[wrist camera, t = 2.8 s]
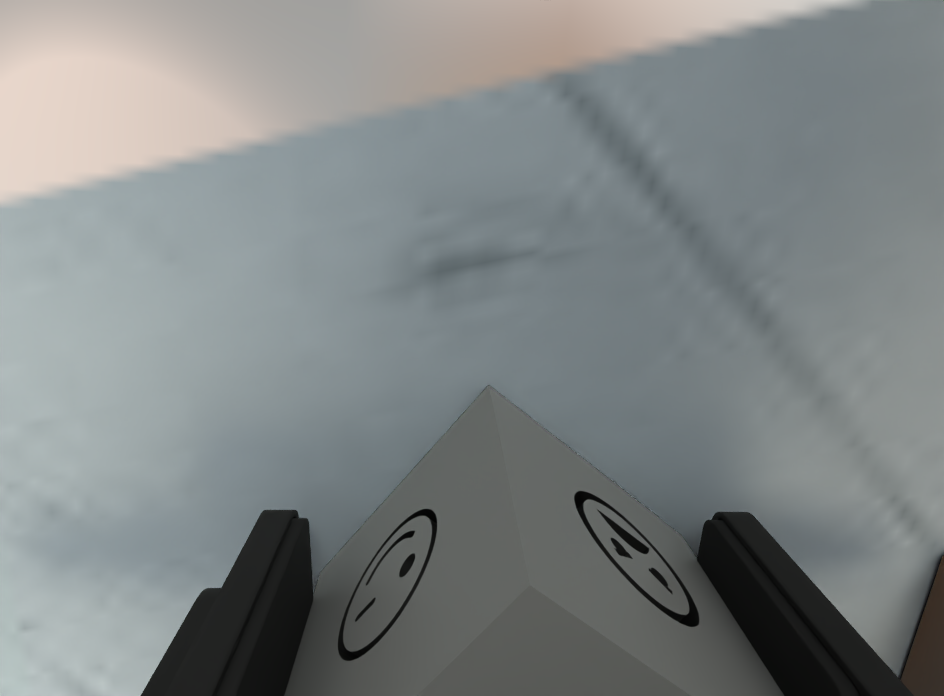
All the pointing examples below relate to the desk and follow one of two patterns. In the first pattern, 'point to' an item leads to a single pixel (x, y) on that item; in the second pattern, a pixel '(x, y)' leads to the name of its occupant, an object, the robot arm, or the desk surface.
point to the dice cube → (518, 584)
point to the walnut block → (928, 646)
